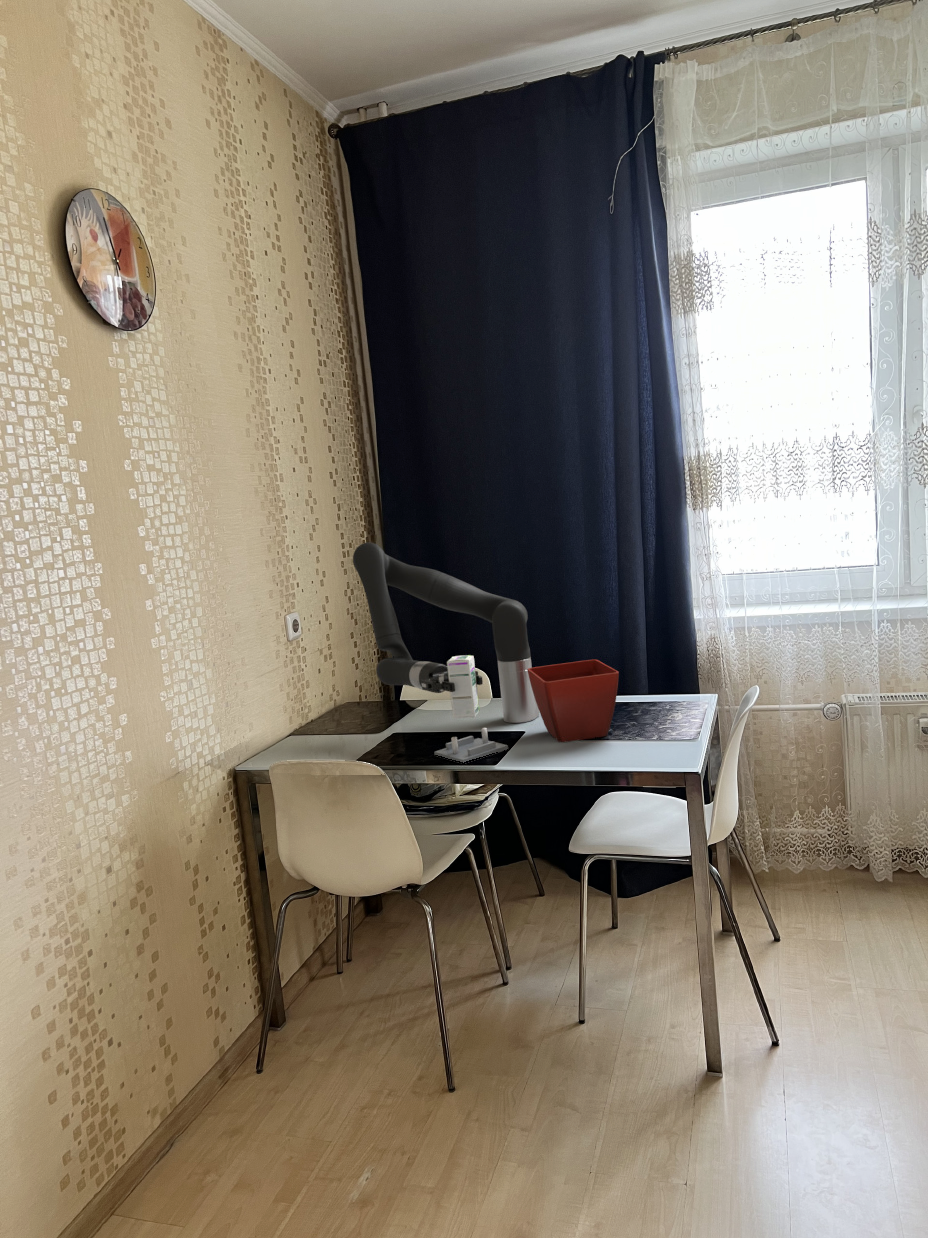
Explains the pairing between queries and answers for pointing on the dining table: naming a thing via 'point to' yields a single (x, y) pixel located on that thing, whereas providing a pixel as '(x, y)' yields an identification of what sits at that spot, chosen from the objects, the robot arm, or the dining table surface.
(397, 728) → the dining table surface
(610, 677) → the plant pot
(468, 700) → the syrup box
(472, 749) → the pegged rail plate
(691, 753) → the dining table surface
